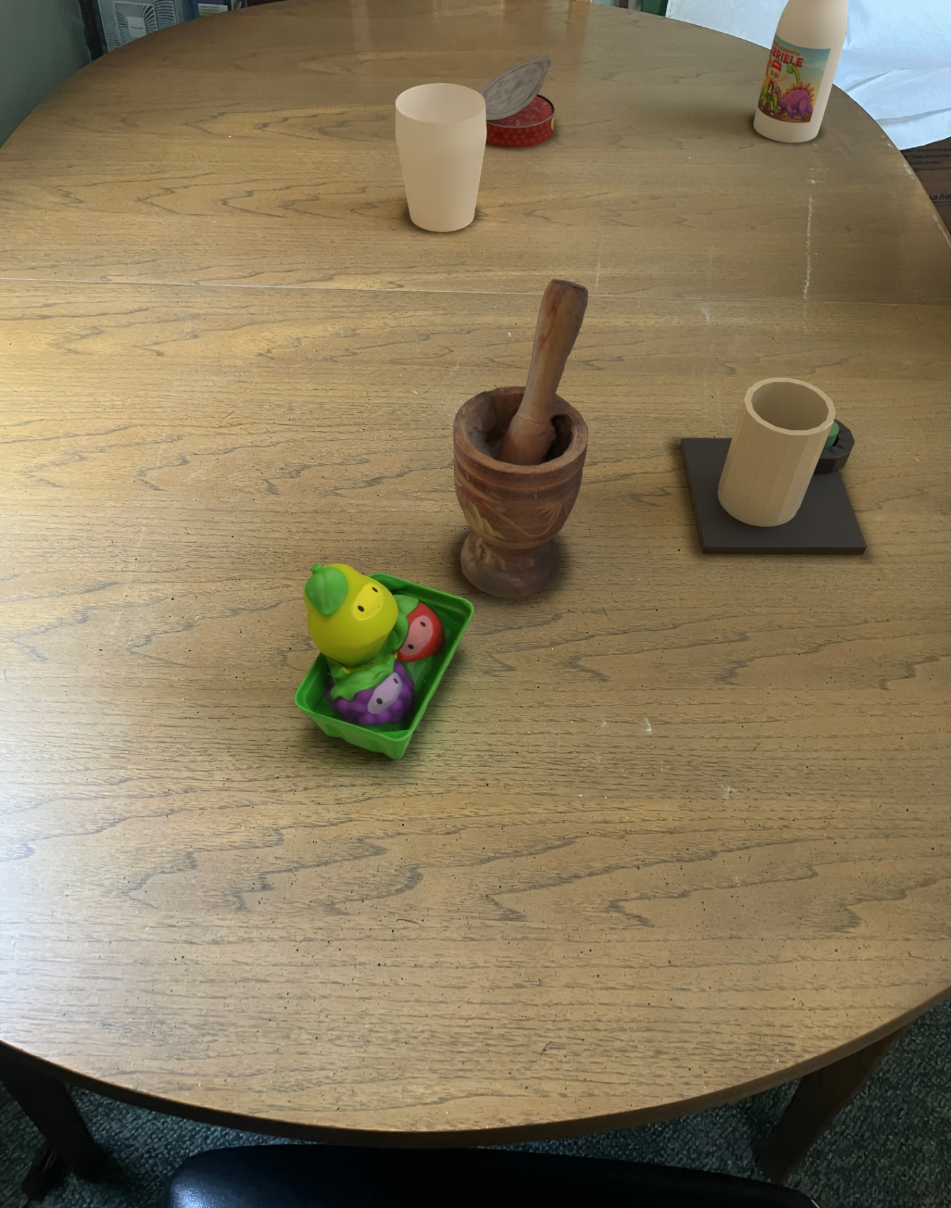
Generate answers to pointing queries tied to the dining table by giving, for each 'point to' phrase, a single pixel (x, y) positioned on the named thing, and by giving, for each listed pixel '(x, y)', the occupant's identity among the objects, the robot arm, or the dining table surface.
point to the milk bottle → (801, 69)
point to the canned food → (519, 105)
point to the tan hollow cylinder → (774, 450)
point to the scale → (811, 531)
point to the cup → (441, 153)
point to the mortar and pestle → (522, 460)
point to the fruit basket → (376, 654)
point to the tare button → (832, 435)
